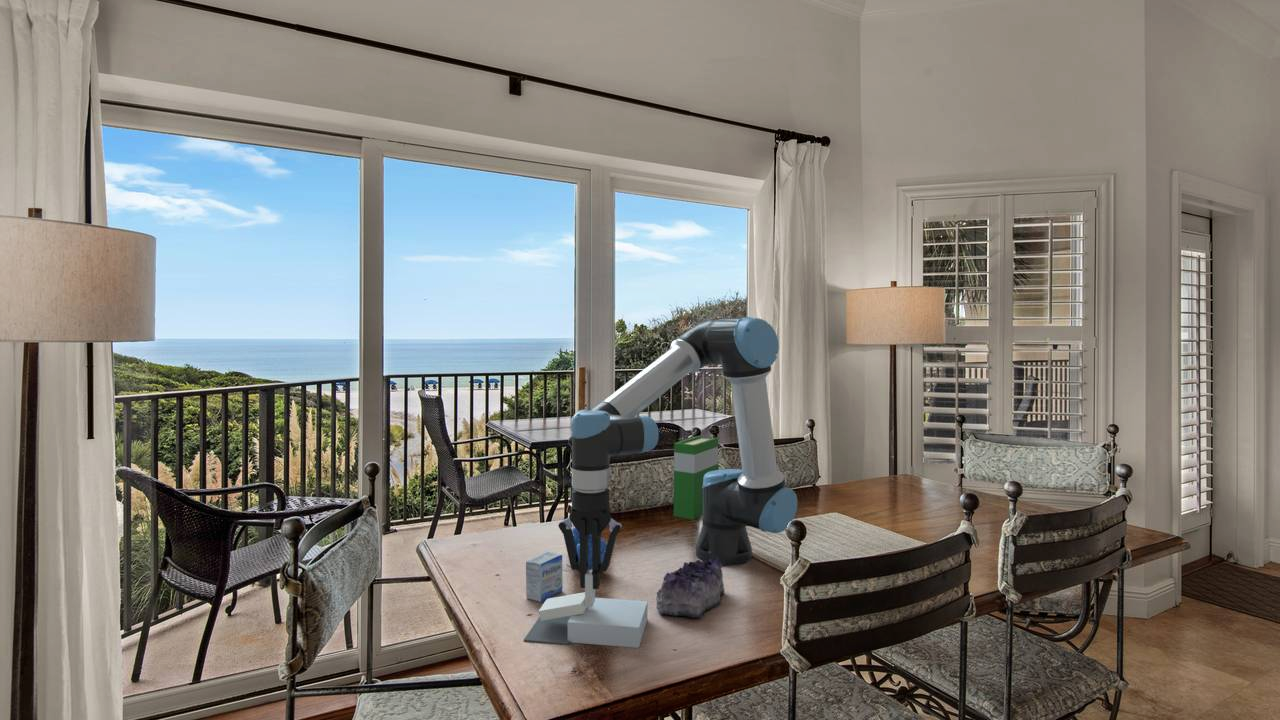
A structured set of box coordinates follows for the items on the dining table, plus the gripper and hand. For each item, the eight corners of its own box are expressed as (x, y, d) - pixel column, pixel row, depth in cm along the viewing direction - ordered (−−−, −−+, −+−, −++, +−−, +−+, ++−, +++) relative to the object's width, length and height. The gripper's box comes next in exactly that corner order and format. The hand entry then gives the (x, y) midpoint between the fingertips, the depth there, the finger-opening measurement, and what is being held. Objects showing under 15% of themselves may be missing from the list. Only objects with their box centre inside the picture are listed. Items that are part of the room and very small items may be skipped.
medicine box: (540, 603, 143) (540, 564, 143) (525, 598, 146) (525, 560, 145) (563, 591, 150) (563, 554, 150) (548, 586, 152) (548, 550, 152)
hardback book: (697, 503, 226) (698, 435, 225) (717, 507, 222) (718, 437, 221) (673, 516, 211) (674, 443, 210) (693, 519, 207) (694, 445, 206)
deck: (647, 620, 135) (647, 601, 135) (638, 647, 123) (639, 627, 123) (582, 615, 137) (582, 596, 137) (567, 642, 126) (567, 622, 125)
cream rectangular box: (590, 600, 134) (587, 591, 134) (583, 613, 128) (581, 603, 128) (549, 608, 135) (547, 598, 135) (540, 620, 129) (538, 611, 129)
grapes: (559, 569, 163) (559, 522, 163) (576, 561, 169) (576, 516, 168) (596, 579, 157) (596, 531, 156) (612, 571, 162) (613, 524, 162)
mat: (585, 613, 138) (585, 612, 138) (568, 644, 124) (568, 643, 124) (544, 610, 140) (544, 608, 140) (523, 641, 126) (523, 639, 126)
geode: (689, 583, 156) (695, 543, 155) (733, 600, 150) (739, 559, 149) (644, 610, 139) (651, 565, 138) (692, 631, 133) (699, 584, 132)
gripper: (625, 485, 132) (624, 598, 133) (563, 482, 134) (563, 594, 135) (619, 494, 125) (618, 614, 126) (553, 491, 127) (553, 609, 128)
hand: (590, 603), depth 131 cm, fingers closed
